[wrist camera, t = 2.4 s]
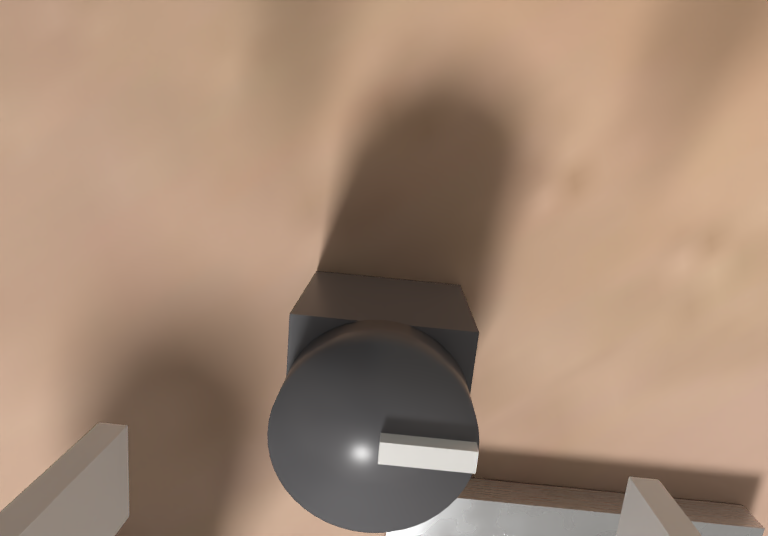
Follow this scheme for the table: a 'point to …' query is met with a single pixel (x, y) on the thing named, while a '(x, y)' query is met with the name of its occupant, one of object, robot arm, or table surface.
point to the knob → (376, 401)
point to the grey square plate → (562, 513)
